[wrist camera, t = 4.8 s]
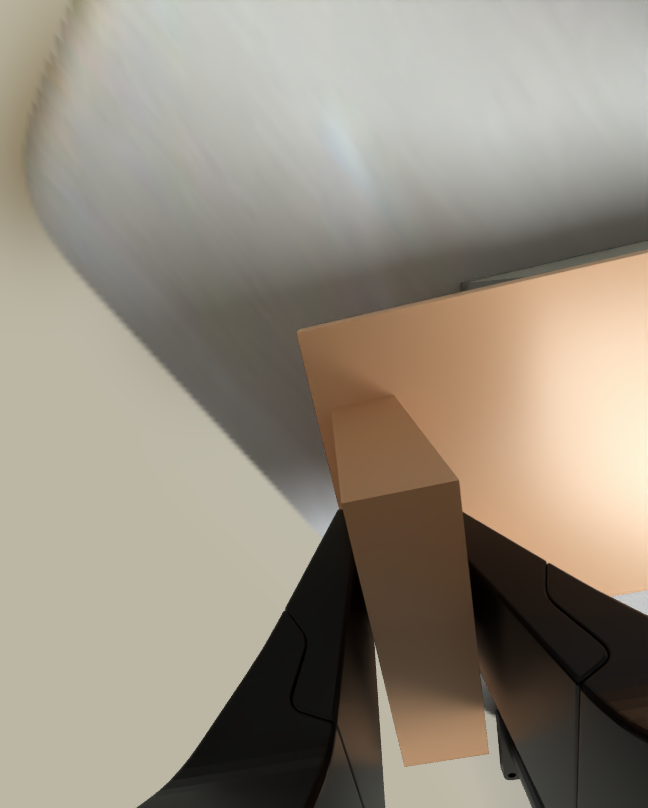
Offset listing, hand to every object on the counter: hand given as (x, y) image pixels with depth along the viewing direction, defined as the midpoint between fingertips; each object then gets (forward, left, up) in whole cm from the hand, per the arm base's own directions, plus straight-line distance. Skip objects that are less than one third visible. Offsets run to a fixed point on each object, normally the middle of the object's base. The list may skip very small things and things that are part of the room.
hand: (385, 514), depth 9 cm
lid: (0, -4, -1) cm, 4 cm away
